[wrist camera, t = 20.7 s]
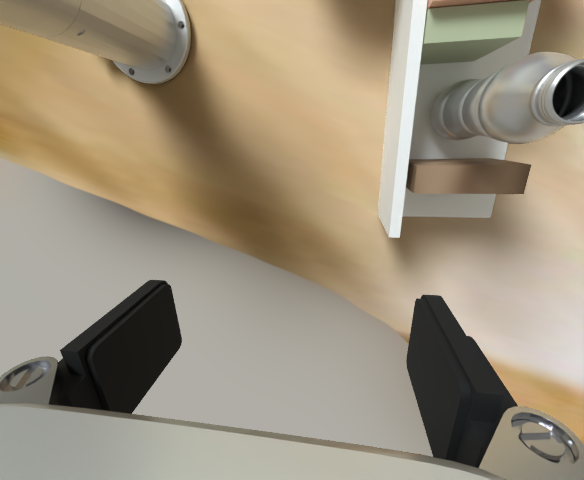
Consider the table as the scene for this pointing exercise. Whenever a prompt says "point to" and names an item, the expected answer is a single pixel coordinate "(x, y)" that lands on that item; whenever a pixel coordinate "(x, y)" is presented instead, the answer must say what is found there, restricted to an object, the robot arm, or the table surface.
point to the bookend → (466, 176)
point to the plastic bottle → (514, 101)
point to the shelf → (432, 82)
